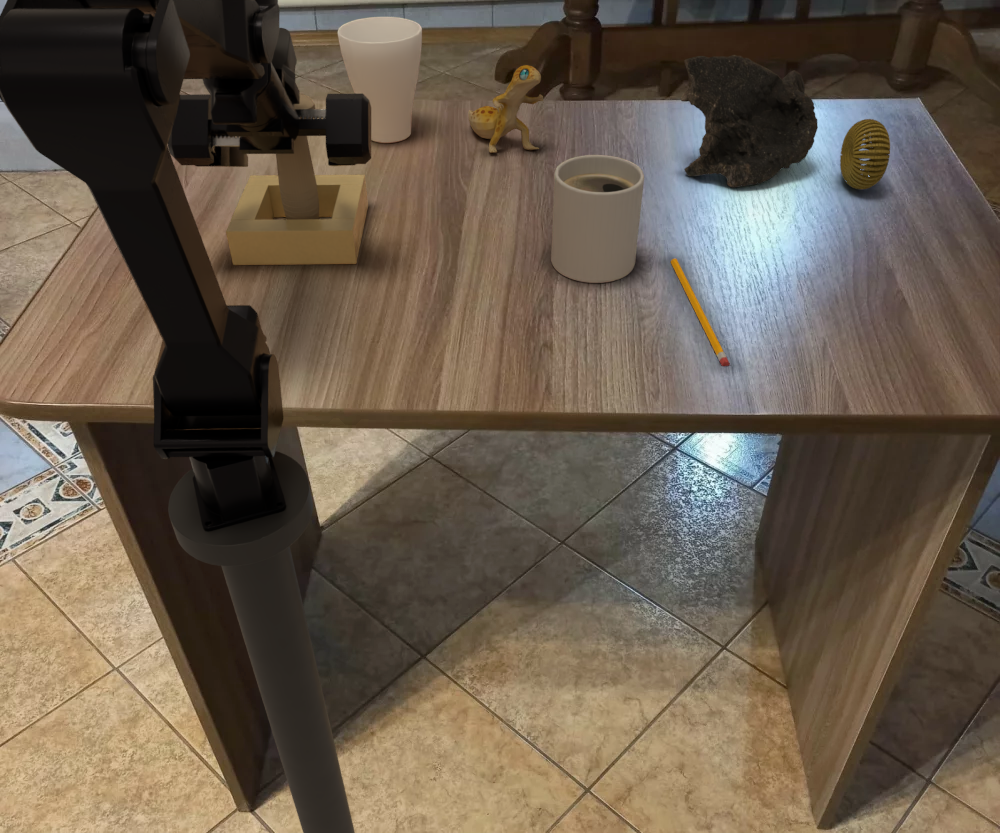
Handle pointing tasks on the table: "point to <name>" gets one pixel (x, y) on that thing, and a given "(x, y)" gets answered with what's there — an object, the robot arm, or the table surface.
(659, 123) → the table surface
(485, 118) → the toy
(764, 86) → the rock
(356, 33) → the cup
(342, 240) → the stand
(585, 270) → the mug
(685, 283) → the pencil
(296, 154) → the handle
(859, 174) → the sculpture
